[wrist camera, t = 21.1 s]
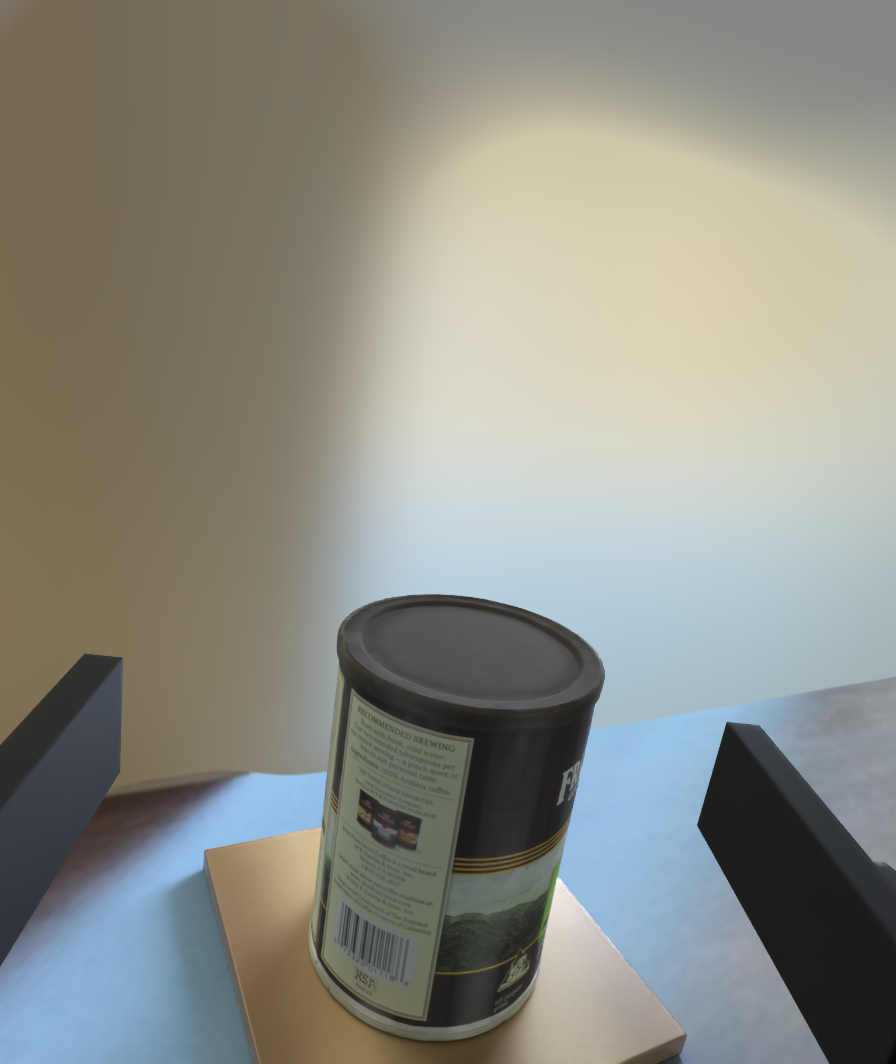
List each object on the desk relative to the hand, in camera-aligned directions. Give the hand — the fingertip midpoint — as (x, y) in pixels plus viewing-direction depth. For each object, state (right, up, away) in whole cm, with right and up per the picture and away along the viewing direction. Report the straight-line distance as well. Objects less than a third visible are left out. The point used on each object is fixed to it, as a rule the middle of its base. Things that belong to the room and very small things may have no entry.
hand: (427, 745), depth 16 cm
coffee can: (-1, -13, +17) cm, 21 cm away
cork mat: (-1, -14, +17) cm, 22 cm away
